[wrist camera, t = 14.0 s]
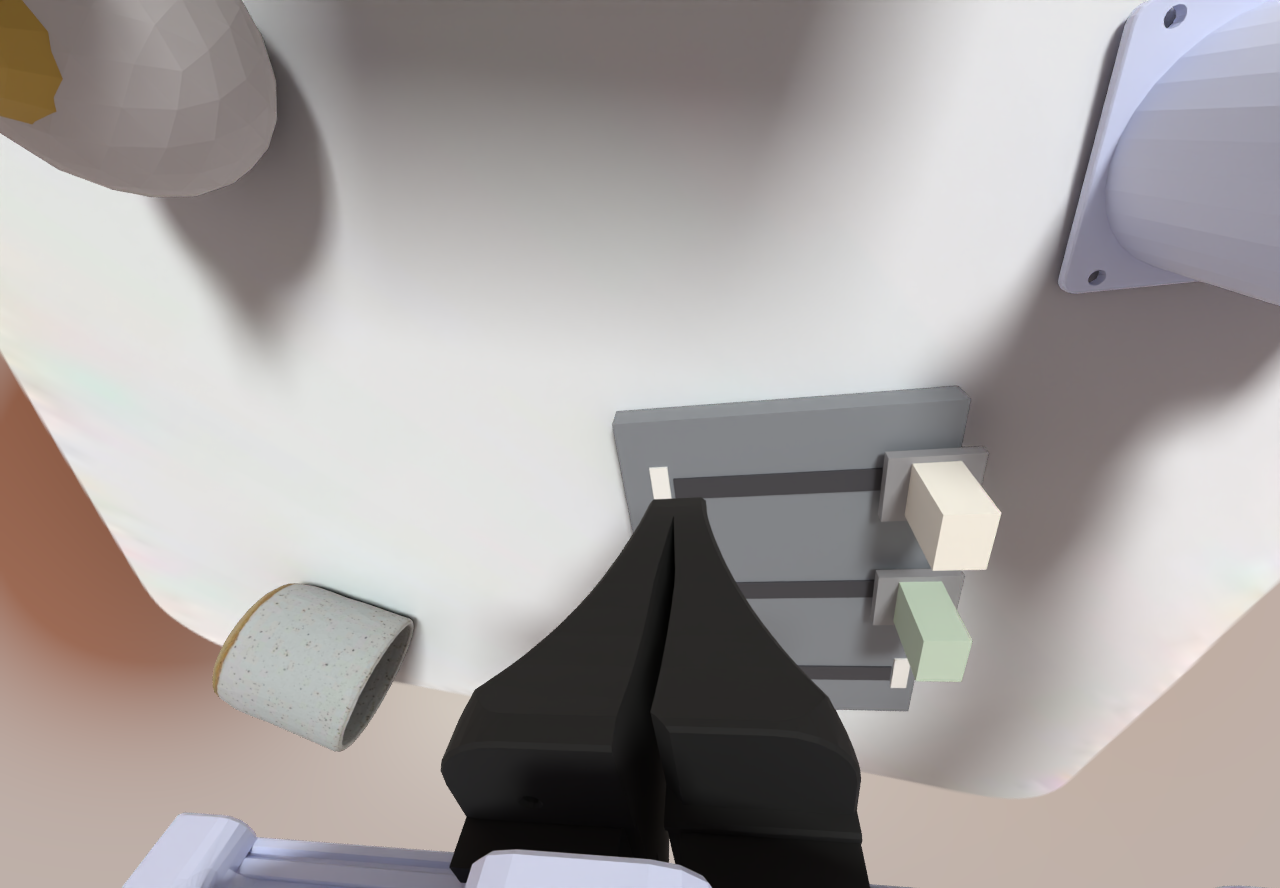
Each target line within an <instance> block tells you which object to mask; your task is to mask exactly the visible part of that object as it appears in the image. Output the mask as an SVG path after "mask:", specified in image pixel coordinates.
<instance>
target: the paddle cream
mask: <svg viewBox="0 0 1280 888" xmlns="http://www.w3.org/2000/svg"><path fill="white" fill-rule="evenodd" d="M988 455H989V452H988V451H987V450H986V449H985V448H984V447H983V446H978V447H960V448H943V449H925V450H907V451H889V452H885V456H884V465H883V474H882V482H881V491H880V500H879V508H878V516H879V518H880V520H881V522H886V521H908V523H909V525H910V527H911V529H912V531H913V533H914V535H915V537H916V539H917V541H918V543H919V545H920V547H921V549H922V551H923V553H924V555H925V557H926V559H927V561H928V563H929V565H930V567H931V569H932V571H946V570H986V569H987V566H988V562H989V558H990V554H991V551H992V547H993V543H994V539H995V536H996V532H997V528H998V524H999V521H1000V517H1001V512H1000V510H999V509H998V508H997V506H996V505H995V504H994V502H993V501H992V500H991V499H990V497H989V496H988V495H987V493H986V492H985V491H984V489H983V488H982V487H981V485H982V481H983V477H984V472H985V468H986V464H987V460H988Z"/></svg>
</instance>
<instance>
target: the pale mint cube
mask: <svg viewBox="0 0 1280 888" xmlns="http://www.w3.org/2000/svg"><path fill="white" fill-rule="evenodd" d="M964 578H965V576H964V574H963V572H962V570H946V571H932V569H891V570H876V573H875V581H874V590H873V598H872V606H871V614H870V618H871V621H872V624H873V625H895V627H896V630H897V632H898V635H899V638H900V640H901V643H902V646H903V648H904V651H905V654H906V656H907V659H908V662H909V665H910V667H911V670H912V673H913V675H914V678H915V681H935V682H962V678H963V674H964V671H965V667H966V663H967V660H968V656H969V652H970V649H971V645H972V642H973V641H972V639H971V637H970V635H969V633H968V631H967V629H966V627H965V625H964V623H963V622H962V620H961V618H960V616H959V614H958V612H957V607H958V603H959V599H960V594H961V590H962V586H963V582H964Z"/></svg>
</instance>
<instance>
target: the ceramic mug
mask: <svg viewBox="0 0 1280 888" xmlns="http://www.w3.org/2000/svg"><path fill="white" fill-rule="evenodd" d="M413 628H414V624H413V621H412V620H411V619H409V618H406V617H403V616H400V615H397V614H394V613H392V612H389V611H386V610H383V609H380V608H377V607H375V606H372V605H369V604H366V603H362V602H359V601H356V600H353V599H349V598H346V597H344V596H341V595H339V594H336V593H333V592H330V591H328V590H325V589H322V588H319V587H315V586H310V585H305V584H287V585H283V586H281V587H279V588H277V589H275V590H273V591H271V592H269V593H267V594H266V595H265V596H263V597H262V598H261V599H260V600H258V601H257V602H256V603H255V604H254V605H253V606H252V607H251V608H250V609H249V610H248V611H247V612H246V614H245V615H244V616H243V617H242V618H241V619H240V621H239V622H238V623H237V625H236V626H235V627H234V629H233V630H232V632H231V633H230V634H229V636H228V638H227V639H226V641H225V643H224V645H223V647H222V649H221V651H220V653H219V655H218V657H217V661H216V663H215V665H214V671H213V679H212V680H213V688H214V692H215V693H216V694H217V695H218V697H219V698H221V699H222V700H223V701H225V702H226V703H228V704H229V705H231V706H232V707H233V708H235V709H236V710H239V711H241V712H243V713H245V714H248V715H250V716H253V717H256V718H258V719H261V720H263V721H266V722H269V723H271V724H273V725H275V726H278V727H280V728H283V729H285V730H287V731H289V732H292V733H294V734H296V735H298V736H301V737H303V738H305V739H308V740H310V741H312V742H315V743H317V744H319V745H322V746H324V747H326V748H328V749H331V750H333V751H338V752H340V751H343V750H345V749H347V748H348V747H349V746H350V745H352V744H353V742H355V740H356V739H357V738H358V737H359V735H360V734H361V733H362V732H363V730H364V729H365V728H366V727H367V725H368V723H369V722H370V720H371V719H372V717H373V716H374V714H375V713H376V711H377V709H378V708H379V706H380V704H381V702H382V701H383V699H384V697H385V695H386V693H387V691H388V690H389V688H390V686H391V684H392V682H393V680H394V678H395V676H396V674H397V672H398V670H399V668H400V666H401V664H402V661H403V659H404V657H405V655H406V653H407V650H408V646H409V643H410V640H411V638H412V634H413Z"/></svg>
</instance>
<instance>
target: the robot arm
mask: <svg viewBox="0 0 1280 888" xmlns="http://www.w3.org/2000/svg"><path fill="white" fill-rule="evenodd" d="M1172 7H1173V8H1174V9H1175V10H1176V17H1175V19H1174V21H1173V23H1172V24H1171V25H1170V26H1169V27H1168V28H1166V27H1165V26H1164V17H1165V15H1166V13H1167V12H1168V11H1169V10H1170V9H1171V8H1172ZM1097 270H1099V274H1098V276H1097V278H1096V279H1095V280H1093V281H1092V282H1089V283H1088V278H1089V277H1090V275H1091V274H1092V273H1093V272H1094V271H1097ZM1199 281H1201V282H1204V283H1208V284H1211V285H1214V286H1217V287H1220V288H1224V289H1227V290H1230V291H1233V292H1236V293H1239V294H1243V295H1246V296H1249V297H1252V298H1255V299H1259V300H1262V301H1265V302H1268V303H1271V304H1275V305H1278V306H1280V0H1148V1H1146V2H1143V3H1142V4H1140V5H1139V6H1138V7H1137V8H1135V9H1134V11H1133V12H1132V13H1131V14H1130V16H1129V17H1128V19H1127V21H1126V24H1125V26H1124V30H1123V34H1122V38H1121V42H1120V45H1119V49H1118V53H1117V57H1116V61H1115V64H1114V68H1113V72H1112V76H1111V80H1110V84H1109V87H1108V91H1107V95H1106V99H1105V103H1104V106H1103V110H1102V114H1101V118H1100V122H1099V126H1098V129H1097V133H1096V137H1095V141H1094V145H1093V148H1092V152H1091V156H1090V160H1089V164H1088V168H1087V171H1086V175H1085V179H1084V183H1083V187H1082V190H1081V194H1080V198H1079V202H1078V206H1077V210H1076V213H1075V217H1074V221H1073V225H1072V229H1071V232H1070V236H1069V240H1068V244H1067V248H1066V252H1065V255H1064V259H1063V263H1062V267H1061V271H1060V274H1059V278H1058V285H1059V287H1060V288H1061V289H1062V290H1064V291H1066V292H1068V293H1073V294H1078V293H1088V292H1098V291H1108V290H1118V289H1128V288H1138V287H1149V286H1159V285H1169V284H1179V283H1189V282H1199ZM441 772H442V775H443V777H444V780H445V782H446V785H447V786H448V788H449V789H450V791H451V793H452V794H453V796H454V797H455V799H456V800H457V802H458V804H459V805H460V807H461V809H462V810H463V812H464V813H465V815H466V816H467V817H466V820H465V823H464V826H463V829H462V832H461V835H460V837H459V841H458V843H457V846H456V849H455V852H444V851H430V850H417V849H405V848H391V847H379V846H366V845H353V844H339V843H327V842H314V841H301V840H289V839H276V838H262V837H256V833H255V832H254V831H253V830H252V828H251V827H249V826H248V825H247V824H246V823H244V822H243V821H241V820H239V819H237V818H234V817H231V816H226V815H216V814H202V813H187V812H184V813H181V814H178V815H177V817H176V818H175V819H174V821H173V822H172V823H171V824H170V826H169V827H168V828H167V830H166V831H165V832H164V833H163V835H162V836H161V838H160V839H159V840H158V841H157V843H156V844H155V845H154V846H153V848H152V849H151V850H150V852H149V853H148V854H147V855H146V857H145V858H144V859H143V861H142V862H141V863H140V865H139V866H138V867H137V868H136V870H135V871H134V872H133V874H132V875H131V876H130V877H129V879H128V880H127V881H126V883H125V884H124V885H123V886H122V888H911V887H898V886H884V885H872V884H869V881H868V875H867V870H866V866H865V861H864V856H863V852H862V847H861V843H862V833H861V829H860V823H859V819H858V814H857V804H858V797H859V790H860V783H861V774H860V767H859V763H858V760H857V757H856V754H855V751H854V749H853V746H852V743H851V741H850V739H849V736H848V734H847V732H846V730H845V728H844V726H843V724H842V722H841V720H840V718H839V716H838V714H837V712H836V710H835V708H834V706H833V704H832V703H831V701H830V699H829V697H828V696H827V695H826V694H825V693H824V692H823V691H822V690H821V689H820V688H819V687H818V686H817V685H816V684H815V683H814V682H813V681H812V680H811V679H810V678H809V677H808V676H807V675H806V674H805V673H804V672H803V671H802V670H801V669H800V668H799V666H798V665H797V664H796V663H795V662H794V661H793V660H792V659H791V657H790V656H789V655H788V654H787V653H786V652H785V651H784V649H783V648H782V647H781V646H780V644H779V643H778V642H777V641H776V639H775V638H774V637H773V636H772V634H771V633H770V632H769V631H768V629H767V628H766V627H765V626H764V624H763V623H762V622H761V620H760V619H759V617H758V616H757V614H756V613H755V612H754V610H753V609H752V607H751V606H750V604H749V603H748V601H747V600H746V598H745V596H744V595H743V593H742V592H741V590H740V588H739V587H738V585H737V583H736V581H735V580H734V578H733V576H732V574H731V572H730V570H729V568H728V566H727V564H726V562H725V560H724V558H723V556H722V554H721V552H720V549H719V547H718V545H717V542H716V540H715V537H714V535H713V532H712V529H711V526H710V523H709V519H708V515H707V506H706V500H704V499H703V498H702V497H695V498H673V499H654V500H653V501H652V502H651V503H650V504H649V506H648V508H647V510H646V512H645V514H644V516H643V518H642V519H641V521H640V523H639V525H638V526H637V528H636V530H635V531H634V533H633V535H632V536H631V538H630V539H629V541H628V543H627V544H626V546H625V547H624V549H623V550H622V552H621V553H620V555H619V556H618V558H617V559H616V560H615V562H614V563H613V564H612V566H611V567H610V569H609V570H608V571H607V573H606V574H605V575H604V577H603V578H602V579H601V580H600V582H599V583H598V584H597V585H596V587H595V588H594V589H593V590H592V591H591V593H590V594H589V595H588V596H587V597H586V598H585V599H584V600H583V602H582V603H581V604H580V605H579V606H578V607H577V608H576V609H575V610H574V611H573V612H572V613H571V614H570V615H569V616H568V617H567V618H566V619H565V620H564V621H563V622H562V623H561V624H560V625H559V626H558V627H557V628H556V629H555V630H554V631H553V632H551V633H550V634H549V635H548V636H547V637H546V638H545V639H543V640H542V641H541V642H540V643H539V644H537V645H536V646H535V647H534V648H533V649H531V650H530V651H529V652H528V653H526V654H525V655H524V656H523V657H521V658H520V659H519V660H517V661H516V662H515V663H513V664H512V665H511V666H509V667H508V668H506V669H505V670H503V671H502V672H500V673H499V674H498V675H496V676H495V677H493V678H492V679H490V680H489V681H487V682H486V683H485V684H483V685H481V686H480V687H478V688H477V689H475V690H474V692H473V694H472V696H471V698H470V700H469V702H468V704H467V705H466V707H465V709H464V711H463V713H462V715H461V717H460V719H459V721H458V723H457V726H456V728H455V731H454V733H453V735H452V738H451V740H450V742H449V745H448V747H447V749H446V752H445V754H444V756H443V759H442V763H441ZM669 839H670V843H671V847H672V852H673V856H674V860H675V864H672V863H669ZM1217 888H1263V887H1250V886H1222V887H1217Z"/></svg>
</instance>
